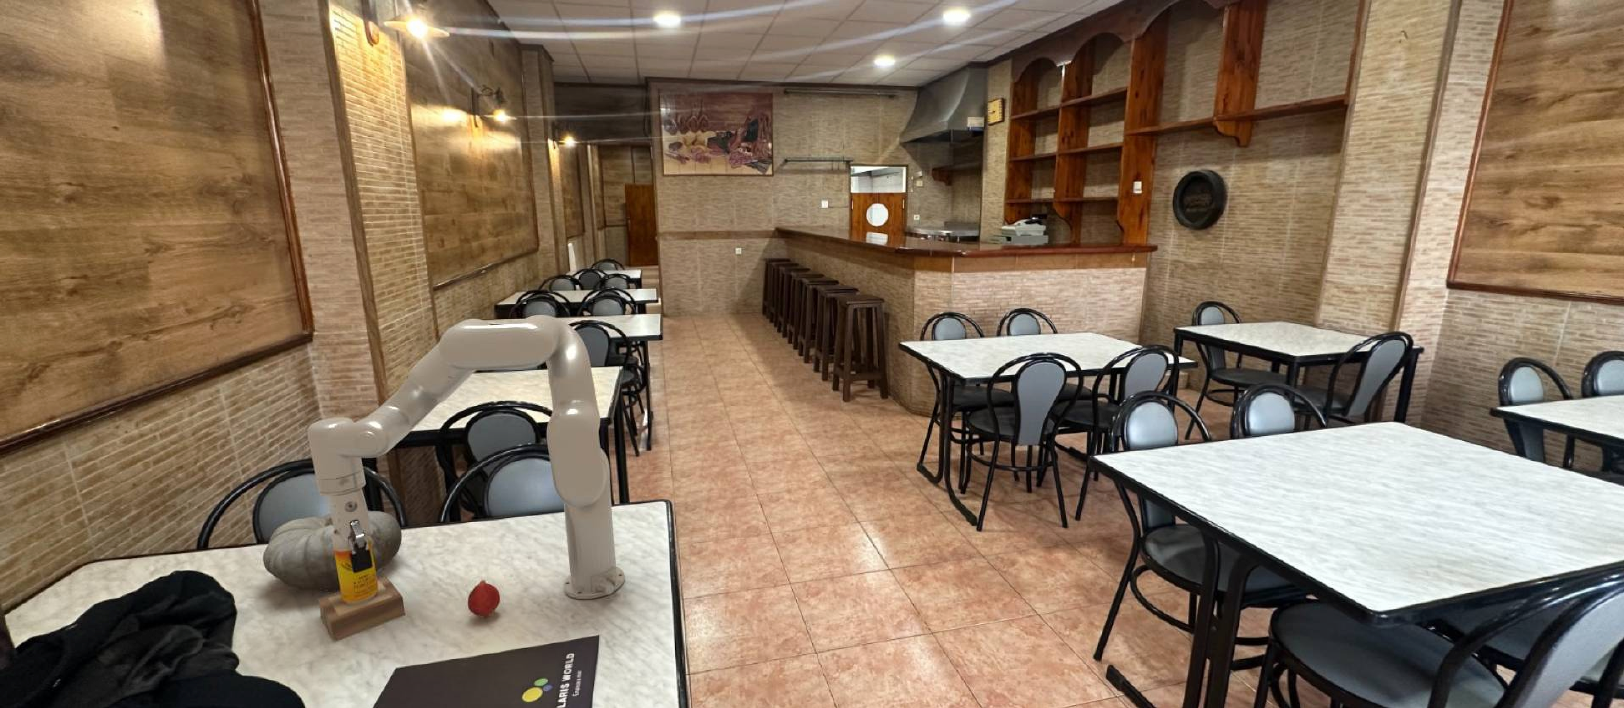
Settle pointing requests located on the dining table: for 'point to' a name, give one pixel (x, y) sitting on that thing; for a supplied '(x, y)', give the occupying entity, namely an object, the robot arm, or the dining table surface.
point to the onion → (483, 599)
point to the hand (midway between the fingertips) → (356, 561)
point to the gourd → (323, 550)
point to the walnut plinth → (361, 611)
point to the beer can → (353, 584)
